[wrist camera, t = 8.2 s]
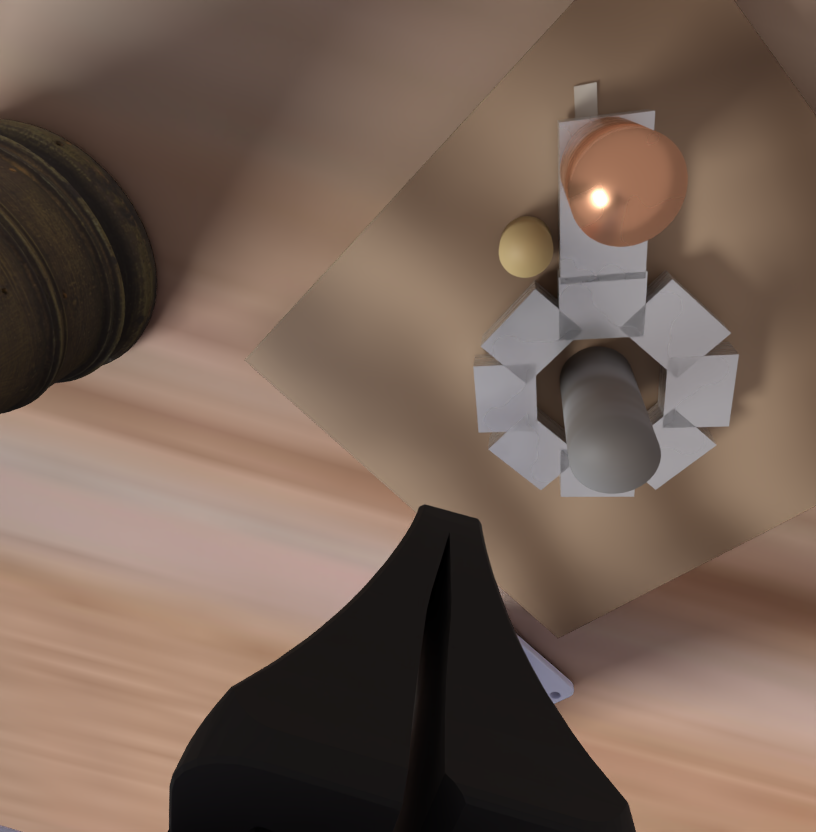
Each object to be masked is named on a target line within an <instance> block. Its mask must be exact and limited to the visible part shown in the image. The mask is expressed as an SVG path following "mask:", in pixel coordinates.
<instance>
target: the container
mask: <svg viewBox="0 0 816 832" xmlns="http://www.w3.org/2000/svg"><path fill="white" fill-rule="evenodd" d="M156 287H157V278H156V268H155V263H154V257H153V253H152V249H151V246H150V243H149V240H148V237H147V234H146V232H145V229H144V227H143V225H142V222H141V220H140V218H139V217H138V215H137V213H136V211H135V209H134V207H133V206H132V204H131V202H130V201H129V199H128V198H127V197H126V195H125V194H124V192H123V191H122V190H121V188H120V187H119V186H118V185H117V183H116V182H115V181H114V180H113V178H112V177H111V176H110V175H109V174H108V173H107V172H106V171H105V170H104V169H103V168H102V167H101V166H100V165H99V164H98V163H96V162H95V161H94V160H93V159H92V158H91V157H90V156H88V155H87V154H86V153H84V152H83V151H82V150H81V149H79V148H78V147H76V146H75V145H73V144H71V143H70V142H68V141H66V140H65V139H63V138H62V137H60V136H58V135H56V134H54V133H52V132H50V131H47V130H45V129H42V128H40V127H36V126H33V125H30V124H26V123H22V122H18V121H13V120H5V119H0V414H1V413H6V412H10V411H12V410H15V409H18V408H21V407H23V406H26V405H28V404H30V403H31V402H33V401H34V400H36V399H37V398H38V397H40V396H41V395H42V394H43V393H44V392H45V391H46V390H47V388H48V387H50V386H51V385H53V384H54V383H60V382H67V381H72V380H76V379H79V378H82V377H84V376H86V375H88V374H90V373H92V372H93V371H95V370H96V369H98V368H99V367H100V366H102V365H105V364H107V363H109V362H112V361H113V360H115V359H117V358H119V357H120V356H122V355H123V354H124V353H126V352H127V351H128V350H129V349H130V348H131V347H132V346H133V345H134V344H135V343H136V342H137V340H138V339H139V338H140V336H141V335H142V333H143V331H144V330H145V328H146V326H147V324H148V322H149V320H150V318H151V315H152V311H153V308H154V304H155V299H156Z"/></svg>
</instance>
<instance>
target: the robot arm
mask: <svg viewBox="0 0 816 832" xmlns="http://www.w3.org/2000/svg"><path fill="white" fill-rule="evenodd" d="M573 693H574V686H573V683H572V682H571V681H570V680H569V679H568V678H567V677H565V676H564V675H563V674H562V673H561V672H560V671H559V670H557V669H556V668H555V667H554V666H553V665H552V664H551V663H549V662H548V661H547V660H546V659H545V658H544V657H542V656H541V655H540V654H539V653H538V652H537V651H536V650H534V649H533V648H532V647H531V646H530V645H529V644H528V643H526V642H525V641H524V640H523V639H522V638H521V637H519V636H518V635H517V634H516V632H515V630H514V628H513V625H512V623H511V621H510V618H509V616H508V613H507V611H506V608H505V606H504V603H503V600H502V598H501V595H500V592H499V589H498V586H497V583H496V580H495V577H494V574H493V571H492V567H491V564H490V560H489V557H488V553H487V549H486V545H485V540H484V535H483V530H482V524H481V522H480V521H479V519H477V518H474V517H470V516H466V515H463V514H459V513H455V512H452V511H448V510H444V509H441V508H437V507H434V506H430V505H426V504H424V505H422V506H419V508H418V511H417V514H416V516H415V518H414V521H413V522H412V524H411V526H410V528H409V530H408V531H407V533H406V534H405V536H404V537H403V539H402V541H401V542H400V543H399V545H398V546H397V547H396V549H395V550H394V552H393V553H392V554H391V556H390V557H389V558H388V560H387V561H386V562H385V563H384V565H383V566H382V567H381V568H380V569H379V570H378V572H377V573H376V574H375V575H374V576H373V577H372V579H371V580H370V581H369V582H368V583H367V584H366V585H365V586H364V588H363V589H362V590H361V591H360V592H359V593H358V594H357V595H356V596H355V597H354V598H353V599H352V600H351V601H350V602H349V603H348V604H347V605H345V606H344V607H343V608H342V609H341V610H340V611H339V612H338V613H337V614H336V615H335V616H333V617H332V618H331V619H330V620H329V621H328V622H326V623H325V624H324V625H323V626H322V627H321V628H319V629H318V630H317V631H316V632H314V633H313V634H312V635H311V636H309V637H308V638H307V639H305V640H304V641H302V642H301V643H300V644H298V645H297V646H295V647H294V648H293V649H291V650H290V651H288V652H287V653H286V654H284V655H283V656H281V657H280V658H279V659H277V660H276V661H274V662H273V663H271V664H269V665H268V666H266V667H265V668H263V669H261V670H259V671H258V672H256V673H254V674H253V675H251V676H249V677H248V678H246V679H244V680H243V681H241V682H239V683H237V684H236V685H234V686H232V687H231V688H230V689H229V690H228V691H227V693H226V694H225V695H224V696H223V697H222V698H221V700H220V701H219V702H218V703H217V704H216V705H215V707H214V708H213V709H212V710H211V712H210V713H209V714H208V716H207V717H206V718H205V719H204V721H203V722H202V724H201V725H200V726H199V728H198V729H197V731H196V733H195V734H194V736H193V737H192V739H191V740H190V742H189V744H188V745H187V747H186V749H185V751H184V753H183V755H182V757H181V759H180V761H179V763H178V765H177V767H176V769H175V771H174V773H173V776H172V779H171V783H170V795H169V830H168V832H636V830H635V826H634V823H633V819H632V815H631V812H630V808H629V805H628V802H627V801H626V800H625V799H624V797H623V796H622V795H621V794H620V792H619V791H618V790H617V789H616V788H615V786H614V785H613V784H612V783H611V782H610V780H609V779H608V778H607V777H606V776H605V774H604V773H603V772H602V771H601V769H600V768H599V767H598V766H597V765H596V763H595V762H594V761H593V760H592V759H591V757H590V756H589V755H588V753H587V752H586V751H585V749H584V748H583V746H582V745H581V744H580V742H579V741H578V740H577V738H576V737H575V735H574V734H573V733H572V731H571V730H570V728H569V727H568V725H567V724H566V722H565V720H564V719H563V717H562V716H561V714H560V713H559V711H558V710H557V708H556V706H555V705H554V704H555V703H557V702H559V701H561V700H564V699H566V698H568V697H570V696H571V695H573ZM0 832H21V831H18V830H15V829H11V828H8V827H5V826H2V825H0Z"/></svg>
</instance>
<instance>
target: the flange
mask: <svg viewBox="0 0 816 832" xmlns="http://www.w3.org/2000/svg"><path fill="white" fill-rule="evenodd" d="M654 124H655V110H651V109H644V110H636V111H628V112H620V113H612V114H604V115H596V116H588V117H580V118H572V119H564V120H558V220H559V269H557V291H558V299H557V298H556V297H554V296H553V295H552V294H551V293H550V292H549V291H547V290H546V289H545V288H544V287H543V286H542V285H541V284H539V283H538V282H537V281H536V280H534V281H533V282H532V283H531V284H530V285H529V286H528V287H527V288H526V289H525V291H524V292H523V293H522V294H521V295H520V296H519V297H518V298H517V299H516V300H515V301H514V302H513V303H512V304H511V305H510V306H509V308H508V309H507V310H506V311H505V312H504V313H503V314H502V315H501V316H500V317H499V318H498V319H497V320H496V321H495V322H494V323H493V325H492V326H491V327H490V328H489V329H488V330H487V331H486V332H485V333H484V334H483V335H482V341H481V347H482V348H483V349H484V350H485V351H487V352H488V353H489V354H479V355H475V360H474V366H473V369H474V382H475V394H476V406H477V419H478V431H479V433H480V432H492V433H491V434H490V436H489V446H488V450H490V451H491V452H492V453H493V454H495V455H496V456H497V457H499V458H500V459H501V460H502V461H504V462H505V463H506V464H508V465H509V466H510V467H511V468H513V469H514V470H515V471H517V472H518V473H519V474H520V475H522V476H523V477H524V478H526V479H527V480H528V481H529V482H531V483H532V484H533V485H535V486H536V487H537V488H538V489H540V490H542V489H543V488H544V487H546V486H547V485H548V484H549V483H550V482H552V481H553V480H554V479H555V478H556V477H558V476H559V482H560V494H561V497H634V492H635V489H634V490H631V491H628V492H624V493H617V494H607V493H601V492H597V491H594V490H591V489H589V488H587V487H586V486H584V485H583V484H581V483H580V482H579V481H578V480H577V479H576V478H575V476H574V475H573V473H572V471H571V469H570V466H569V460H568V451H567V442H566V433H565V429H564V428H563V427H561V426H560V425H559V424H558V423H556V422H555V421H554V420H553V419H552V418H550V417H549V416H548V415H547V414H545V413H544V412H543V411H542V410H540V409H539V408H538V407H537V396H536V375H537V374H538V373H539V372H540V371H541V370H542V369H543V368H544V367H546V366H547V365H548V364H549V363H550V362H551V361H552V360H553V359H554V358H555V357H556V356H557V355H558V354H559V353H560V352H561V351H562V350H563V349H564V348H565V347H566V346H568V345H569V344H570V343H571V342H572V341H573V340H582V339H600V338H619V337H630V338H631V339H632V340H633V341H634V342H636V343H637V344H638V345H639V346H640V347H641V348H642V349H644V350H645V351H646V352H647V353H648V354H649V355H650V356H652V357H653V358H654V359H655V360H656V361H657V362H658V363H660V377H659V390H658V403H656V404H655V405H654V406H653V407H651V408H650V409H649V410H648V411H647V412H648V415H649V418H650V421H651V423H652V426H653V429H654V432H655V434H656V437H657V440H658V442H659V445H660V449H661V460H660V464H659V467H658V469H657V471H656V472H655V474H654V475H653V476H652V477H651V479H650V480H648V481H647V483H648V484H649V485H650V486H652V487H653V488H654V489H655V490H656V489H658V488H659V487H660V486H662V485H663V484H664V483H666V482H667V481H668V480H670V479H671V478H673V477H674V476H675V475H677V474H678V473H679V472H681V471H682V470H683V469H685V468H686V467H688V466H689V465H690V464H692V463H693V462H694V461H696V460H697V459H698V458H700V457H701V456H703V455H704V454H705V453H707V452H708V451H709V450H711V449H712V448H713V447H715V446H716V443H715V441H714V439H713V437H712V435H711V433H710V431H709V430H708V429H707V428H706V427H726V426H729V422H730V415H731V408H732V400H733V393H734V386H735V379H736V372H737V365H738V357H739V354H738V352H737V351H736V350H735V349H734V347H733V346H732V345H731V343H730V342H721V341H723V340H724V339H725V338H726V337H727V336H729V335H730V334H731V332H730V331H729V330H728V328H727V327H726V326H725V325H724V323H723V322H722V321H721V320H720V319H719V318H718V317H716V316H715V315H714V314H713V313H712V312H711V311H710V310H709V309H708V308H707V307H706V306H704V305H703V304H702V303H701V302H700V301H699V300H698V299H697V298H696V297H695V296H694V295H692V294H691V293H690V292H689V291H688V290H687V289H686V288H685V287H684V286H683V285H682V284H680V283H679V282H678V281H677V280H676V279H675V278H674V277H673V276H672V275H671V274H670V273H668V272H667V271H666V270H665V271H664V272H663V273H662V274H661V275H660V276H659V277H657V278H656V279H655V280H654V281H653V282H652V283H651V284H650V285H649V286H648V287H647V274H648V271H647V270H646V261H647V243H648V240H649V239H651V238H653V237H655V236H656V235H658V234H659V233H660V232H662V231H663V230H664V229H665V228H666V227H667V226H668V225H669V224H670V223H671V222H672V221H673V219H674V218H675V217H676V215H677V214H678V212H679V210H680V208H681V207H682V204H683V202H684V199H685V196H686V192H687V186H688V172H687V166H686V163H685V160H684V157H683V155H682V153H681V151H680V150H679V148H678V147H677V146H676V145H675V144H674V142H673V141H671V140H670V139H669V138H668V137H666V136H665V135H663V134H661V133H659V132H657V131H654Z"/></svg>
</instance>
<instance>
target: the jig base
mask: <svg viewBox="0 0 816 832" xmlns="http://www.w3.org/2000/svg"><path fill="white" fill-rule="evenodd" d="M644 109H651V110H655V124H654V131H657V132H659V133H661V134H663V135H665V136H666V137H668V138H669V139H670V140H671V141H673V142H674V144H675V145H676V146H677V147H678V148H679V150H680V151H681V153H682V155H683V157H684V160H685V163H686V166H687V172H688V186H687V192H686V196H685V199H684V202H683V204H682V207H681V208H680V210H679V212H678V214H677V215H676V217H675V218H674V219H673V221H672V222H671V223H670V224H669V225H668V226H667V227H666V228H665V229H664V230H663V231H662V232H660V233H659V234H658V235H656V236H655V237H653V238H651V239H649V240H648V243H647V261H646V270H647V271H648V274H647V287H648V286H649V285H650V284H651V283H652V282H653V281H654V280H655V279H656V278H657V277H659V276H660V275H661V274H662V273H663V272H664V271H665V270H666V271H667V272H668V273H670V274H671V275H672V276H673V277H674V278H675V279H676V280H677V281H678V282H679V283H680V284H682V285H683V286H684V287H685V288H686V289H687V290H688V291H689V292H690V293H691V294H692V295H694V296H695V297H696V298H697V299H698V300H699V301H700V302H701V303H702V304H703V305H704V306H706V307H707V308H708V309H709V310H710V311H711V312H712V313H713V314H714V315H715V316H716V317H718V318H719V319H720V320H721V321H722V322H723V323H724V325H725V326H726V327H727V328H728V330H729V331H730V332H731V334H730V335H729V336H727V337H726V338H725V339H724V340H723V341H721V342H730V343H731V345H732V346H733V347H734V349H735V350H736V351H737V352H738V354H739V357H738V365H737V372H736V379H735V386H734V393H733V400H732V408H731V415H730V422H729V426H726V427H706V428H707V429H708V430H709V431H710V433H711V435H712V437H713V439H714V441H715V443H716V446H715V447H713V448H712V449H711V450H709V451H708V452H707V453H705V454H704V455H703V456H701V457H700V458H698V459H697V460H696V461H694V462H693V463H692V464H690V465H689V466H688V467H686V468H685V469H683V470H682V471H681V472H679V473H678V474H677V475H675V476H674V477H673V478H671V479H670V480H668V481H667V482H666V483H664V484H663V485H662V486H660V487H659V488H658V489H656V490H655V489H654V488H653V487H652V486H650V485H649V484H648V483H647V481H648V480H650V479H651V477H652V476H653V475H654V474H655V472H656V471H657V469H658V467H659V464H660V460H661V449H660V445H659V442H658V440H657V437H656V434H655V432H654V429H653V426H652V423H651V421H650V418H649V415H648V412H647V411H648V410H649V409H650V408H651V407H653V406H654V405H655V404H656V403H658V390H659V377H660V363H658V362H657V361H656V360H655V359H654V358H653V357H652V356H650V355H649V354H648V353H647V352H646V351H645V350H644V349H642V348H641V347H640V346H639V345H638V344H637V343H636V342H634V341H633V340H632V339H631V338H630V337H619V338H600V339H582V340H573V341H572V342H571V343H570V344H569V345H568V346H566V347H565V348H564V349H563V350H562V351H561V352H560V353H559V354H558V355H557V356H556V357H555V358H554V359H553V360H552V361H551V362H550V363H549V364H548V365H547V366H546V367H544V368H543V369H542V370H541V371H540V372H539V373H538V374H537V375H536V396H537V407H538V408H539V409H540V410H542V411H543V412H544V413H545V414H547V415H548V416H549V417H550V418H552V419H553V420H554V421H555V422H556V423H558V424H559V425H560V426H561V427H563V428H564V429H565V433H566V442H567V451H568V460H569V466H570V469H571V471H572V473H573V475H574V476H575V478H576V479H577V480H578V481H579V482H580V483H581V484H583V485H584V486H586V487H587V488H589V489H591V490H594V491H597V492H601V493H607V494H617V493H624V492H628V491H631V490H634V489H635V492H634V497H561V494H560V482H559V476H558V477H556V478H555V479H554V480H553V481H552V482H550V483H549V484H548V485H547V486H546V487H544V488H543V489H542V490H540V489H538V488H537V487H536V486H535V485H533V484H532V483H531V482H529V481H528V480H527V479H526V478H524V477H523V476H522V475H520V474H519V473H518V472H517V471H515V470H514V469H513V468H511V467H510V466H509V465H508V464H506V463H505V462H504V461H502V460H501V459H500V458H499V457H497V456H496V455H495V454H493V453H492V452H491V451H490V450H488V446H489V436H490V434H491V433H492V432H480V433H479V431H478V419H477V406H476V394H475V382H474V369H473V366H474V360H475V355H479V354H489V353H488V352H487V351H485V350H484V349H483V348H482V347H481V341H482V335H483V334H484V333H485V332H486V331H487V330H488V329H489V328H490V327H491V326H492V325H493V323H494V322H495V321H496V320H497V319H498V318H499V317H500V316H501V315H502V314H503V313H504V312H505V311H506V310H507V309H508V308H509V306H510V305H511V304H512V303H513V302H514V301H515V300H516V299H517V298H518V297H519V296H520V295H521V294H522V293H523V292H524V291H525V289H526V288H527V287H528V286H529V285H530V284H531V283H532V282H533V281H534V280H536V281H537V282H538V283H539V284H541V285H542V286H543V287H544V288H545V289H546V290H547V291H549V292H550V293H551V294H552V295H553V296H554V297H556V298H557V299H558V291H557V269H559V220H558V120H564V119H572V118H580V117H588V116H596V115H604V114H612V113H620V112H628V111H636V110H644ZM245 361H246V362H247V363H248V364H249V365H250V366H251V367H252V368H254V369H255V370H256V371H257V372H258V373H259V374H260V375H261V376H263V377H264V378H265V379H266V380H267V381H268V382H269V383H270V384H272V385H273V386H274V387H275V388H276V389H277V390H278V391H280V392H281V393H282V394H283V395H284V396H285V397H286V398H287V399H289V400H290V401H291V402H292V403H293V404H294V405H295V406H296V407H298V408H299V409H300V410H301V411H302V412H303V413H304V414H305V415H307V416H308V417H309V418H310V419H311V420H312V421H313V422H314V423H316V424H317V425H318V426H319V427H320V428H321V429H322V430H323V431H325V432H326V433H327V434H328V435H329V436H330V437H331V438H332V439H334V440H335V441H336V442H337V443H338V444H339V445H340V446H342V447H343V448H344V449H345V450H346V451H347V452H348V453H349V454H351V455H352V456H353V457H354V458H355V459H356V460H357V461H358V462H360V463H361V464H362V465H363V466H364V467H365V468H366V469H367V470H369V471H370V472H371V473H372V474H373V475H374V476H375V477H376V478H378V479H379V480H380V481H381V482H382V483H383V484H384V485H385V486H387V487H388V488H389V489H390V490H391V491H392V492H393V493H394V494H396V495H397V496H398V497H399V498H400V499H401V500H402V501H404V502H405V503H406V504H407V505H408V506H409V507H410V508H411V509H413V510H414V511H415V512H416V513H417V511H418V508H419V506H422V505H424V504H426V505H430V506H434V507H437V508H441V509H444V510H448V511H452V512H455V513H459V514H463V515H466V516H470V517H474V518H477V519H479V521H480V522H481V524H482V530H483V535H484V540H485V545H486V549H487V553H488V557H489V560H490V564H491V567H492V571H493V574H494V577H495V580H496V583H497V585H498V586H499V587H500V588H502V589H503V590H504V591H505V592H506V593H507V594H508V595H509V596H511V597H512V598H513V599H514V600H515V601H516V602H517V603H518V604H520V605H521V606H522V607H523V608H524V609H525V610H526V611H528V612H529V613H530V614H531V615H532V616H533V617H534V618H535V619H537V620H538V621H539V622H540V623H541V624H542V625H543V626H544V627H546V628H547V629H548V630H549V631H550V632H551V633H552V634H553V635H555V636H556V637H557V638H560V637H562V636H564V635H566V634H568V633H570V632H572V631H574V630H575V629H577V628H579V627H581V626H583V625H585V624H587V623H589V622H591V621H593V620H595V619H597V618H599V617H601V616H603V615H605V614H607V613H609V612H610V611H612V610H614V609H616V608H618V607H620V606H622V605H624V604H626V603H628V602H630V601H632V600H634V599H636V598H638V597H640V596H642V595H644V594H645V593H647V592H649V591H651V590H653V589H655V588H657V587H659V586H661V585H663V584H665V583H667V582H669V581H671V580H673V579H675V578H677V577H679V576H681V575H682V574H684V573H686V572H688V571H690V570H692V569H694V568H696V567H698V566H700V565H702V564H704V563H706V562H708V561H710V560H712V559H714V558H716V557H717V556H719V555H721V554H723V553H725V552H727V551H729V550H731V549H733V548H735V547H737V546H739V545H741V544H743V543H745V542H747V541H749V540H751V539H752V538H754V537H756V536H758V535H760V534H762V533H764V532H766V531H768V530H770V529H772V528H774V527H776V526H778V525H780V524H782V523H784V522H786V521H788V520H789V519H791V518H793V517H795V516H797V515H799V514H801V513H803V512H805V511H807V510H809V509H811V508H813V507H815V506H816V115H815V114H814V112H813V111H812V109H811V108H810V107H809V105H808V104H807V102H806V101H805V100H804V98H803V97H802V95H801V94H800V93H799V91H798V90H797V88H796V87H795V86H794V84H793V83H792V81H791V80H790V78H789V77H788V76H787V74H786V73H785V71H784V70H783V69H782V67H781V66H780V64H779V63H778V62H777V60H776V59H775V57H774V56H773V55H772V53H771V52H770V50H769V49H768V47H767V46H766V45H765V43H764V42H763V40H762V39H761V38H760V36H759V35H758V33H757V32H756V31H755V29H754V28H753V26H752V25H751V24H750V22H749V21H748V19H747V18H746V16H745V15H744V14H743V12H742V11H741V9H740V8H739V7H738V5H737V4H736V2H735V1H734V0H575V1H574V2H573V3H572V4H571V5H570V6H569V7H568V8H567V9H566V10H565V12H564V13H563V14H562V15H561V16H560V17H559V18H558V19H557V20H556V21H555V22H554V24H553V25H552V26H551V27H550V28H549V29H548V30H547V31H546V32H545V33H544V34H543V36H542V37H541V38H540V39H539V40H538V41H537V42H536V43H535V44H534V45H533V46H532V48H531V49H530V50H529V51H528V52H527V53H526V54H525V55H524V56H523V57H522V58H521V60H520V61H519V62H518V63H517V64H516V65H515V66H514V67H513V68H512V69H511V70H510V71H509V73H508V74H507V75H506V76H505V77H504V78H503V79H502V80H501V81H500V82H499V83H498V85H497V86H496V87H495V88H494V89H493V90H492V91H491V92H490V93H489V94H488V95H487V97H486V98H485V99H484V100H483V101H482V102H481V103H480V104H479V105H478V106H477V107H476V109H475V110H474V111H473V112H472V113H471V114H470V115H469V116H468V117H467V118H466V119H465V121H464V122H463V123H462V124H461V125H460V126H459V127H458V128H457V129H456V130H455V131H454V133H453V134H452V135H451V136H450V137H449V138H448V139H447V140H446V141H445V142H444V143H443V144H442V146H441V147H440V148H439V149H438V150H437V151H436V152H435V153H434V154H433V155H432V156H431V158H430V159H429V160H428V161H427V162H426V163H425V164H424V165H423V166H422V167H421V168H420V170H419V171H418V172H417V173H416V174H415V175H414V176H413V177H412V178H411V179H410V180H409V182H408V183H407V184H406V185H405V186H404V187H403V188H402V189H401V190H400V191H399V192H398V194H397V195H396V196H395V197H394V198H393V199H392V200H391V201H390V202H389V203H388V204H387V205H386V207H385V208H384V209H383V210H382V211H381V212H380V213H379V214H378V215H377V216H376V217H375V219H374V220H373V221H372V222H371V223H370V224H369V225H368V226H367V227H366V228H365V229H364V231H363V232H362V233H361V234H360V235H359V236H358V237H357V238H356V239H355V240H354V241H353V243H352V244H351V245H350V246H349V247H348V248H347V249H346V250H345V251H344V252H343V253H342V255H341V256H340V257H339V258H338V259H337V260H336V261H335V262H334V263H333V264H332V265H331V266H330V268H329V269H328V270H327V271H326V272H325V273H324V274H323V275H322V276H321V277H320V278H319V280H318V281H317V282H316V283H315V284H314V285H313V286H312V287H311V288H310V289H309V290H308V292H307V293H306V294H305V295H304V296H303V297H302V298H301V299H300V300H299V301H298V302H297V304H296V305H295V306H294V307H293V308H292V309H291V310H290V311H289V312H288V313H287V314H286V316H285V317H284V318H283V319H282V320H281V321H280V322H279V323H278V324H277V325H276V326H275V327H274V329H273V330H272V331H271V332H270V333H269V334H268V335H267V336H266V337H265V338H264V339H263V341H262V342H261V343H260V344H259V345H258V346H257V347H256V348H255V349H254V350H253V351H252V353H251V354H250V355H249V356H248V357H247V358H246V359H245Z"/></svg>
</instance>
